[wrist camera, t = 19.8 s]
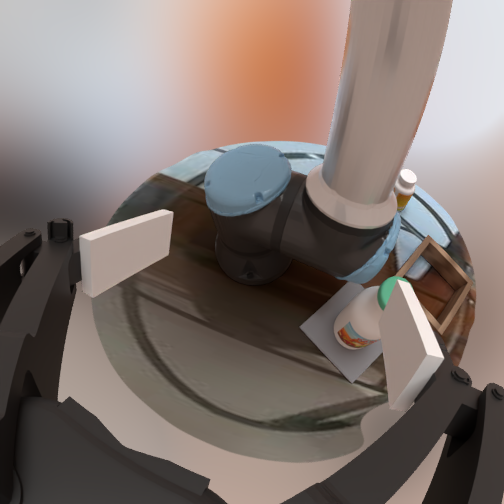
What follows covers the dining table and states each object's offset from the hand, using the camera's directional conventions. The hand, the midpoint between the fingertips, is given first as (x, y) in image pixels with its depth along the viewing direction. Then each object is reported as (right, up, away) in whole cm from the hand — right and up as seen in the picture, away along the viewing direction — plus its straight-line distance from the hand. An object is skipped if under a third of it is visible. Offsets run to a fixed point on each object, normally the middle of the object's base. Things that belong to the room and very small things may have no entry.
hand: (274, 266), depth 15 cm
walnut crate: (+34, -7, +34) cm, 48 cm away
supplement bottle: (+32, +12, +44) cm, 55 cm away
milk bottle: (+17, -13, +32) cm, 38 cm away
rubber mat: (+17, -13, +32) cm, 39 cm away
